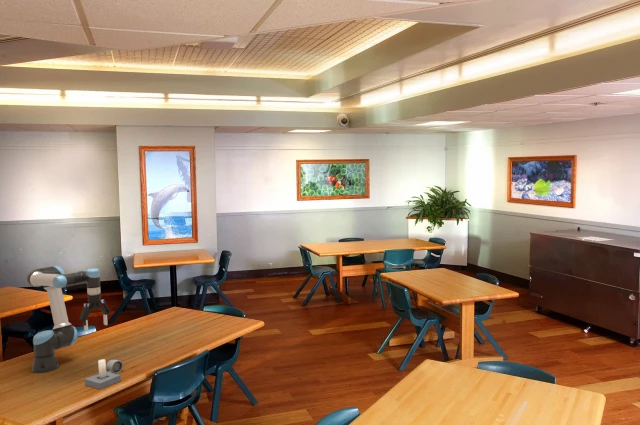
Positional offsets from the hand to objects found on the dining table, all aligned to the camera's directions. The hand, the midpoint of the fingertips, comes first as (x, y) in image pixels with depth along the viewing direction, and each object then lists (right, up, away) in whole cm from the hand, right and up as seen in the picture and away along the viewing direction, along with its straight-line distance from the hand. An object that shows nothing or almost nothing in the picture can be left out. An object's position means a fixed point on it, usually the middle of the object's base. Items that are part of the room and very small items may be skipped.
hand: (96, 327), depth 325 cm
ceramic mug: (+10, -29, +2) cm, 30 cm away
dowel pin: (+10, -28, -15) cm, 33 cm away
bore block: (+10, -30, -15) cm, 35 cm away
